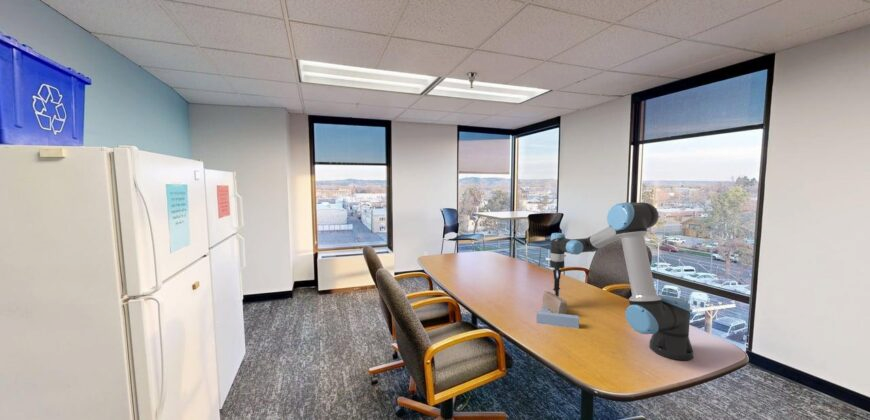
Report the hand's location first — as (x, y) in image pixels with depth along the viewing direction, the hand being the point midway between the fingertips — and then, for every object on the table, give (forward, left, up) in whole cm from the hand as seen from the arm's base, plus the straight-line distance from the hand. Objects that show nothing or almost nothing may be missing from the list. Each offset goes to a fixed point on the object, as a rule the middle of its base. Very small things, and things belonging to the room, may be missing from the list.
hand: (556, 300), depth 186 cm
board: (-22, 0, -5) cm, 23 cm away
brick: (-5, 0, -5) cm, 7 cm away
